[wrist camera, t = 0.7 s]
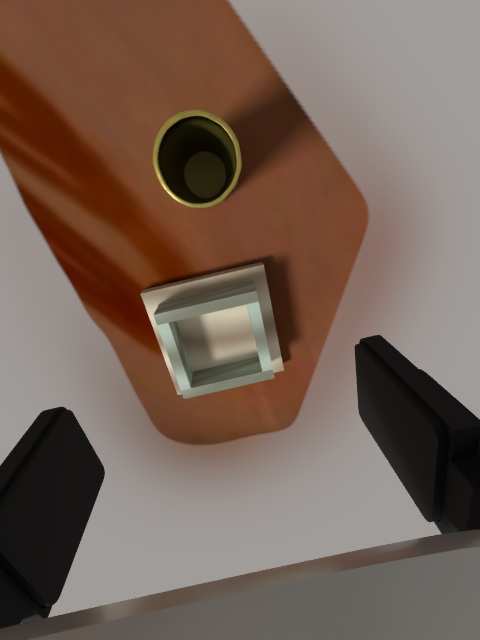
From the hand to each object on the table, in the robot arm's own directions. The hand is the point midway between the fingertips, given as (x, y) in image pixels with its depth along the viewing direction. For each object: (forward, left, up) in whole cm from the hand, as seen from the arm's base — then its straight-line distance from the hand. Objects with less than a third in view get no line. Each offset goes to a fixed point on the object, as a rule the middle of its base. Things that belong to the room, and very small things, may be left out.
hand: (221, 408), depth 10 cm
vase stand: (+9, -2, -26) cm, 28 cm away
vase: (-8, +1, -27) cm, 28 cm away
